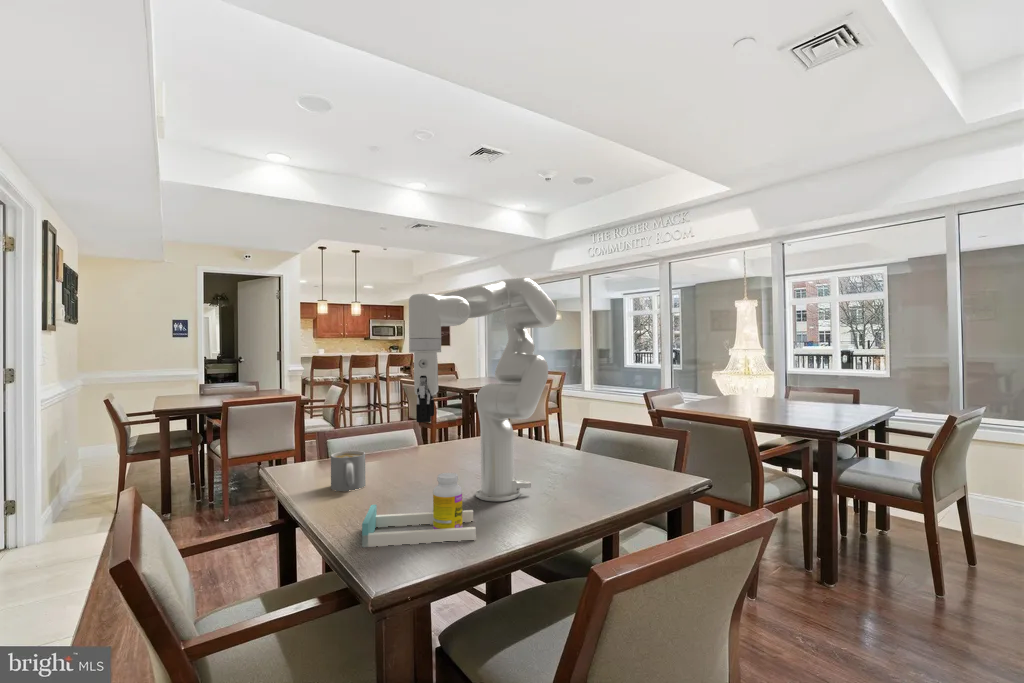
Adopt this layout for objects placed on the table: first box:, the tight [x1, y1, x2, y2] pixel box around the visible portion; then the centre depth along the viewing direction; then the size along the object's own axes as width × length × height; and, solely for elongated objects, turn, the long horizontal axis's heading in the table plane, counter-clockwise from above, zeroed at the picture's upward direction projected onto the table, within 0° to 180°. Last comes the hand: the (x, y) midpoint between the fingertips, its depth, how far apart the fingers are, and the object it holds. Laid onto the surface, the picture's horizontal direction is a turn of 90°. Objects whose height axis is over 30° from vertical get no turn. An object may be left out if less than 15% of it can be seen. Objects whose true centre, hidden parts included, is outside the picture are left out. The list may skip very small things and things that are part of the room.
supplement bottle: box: [432, 472, 463, 529], centre depth 111 cm, size 7×7×13 cm
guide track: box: [361, 504, 477, 548], centre depth 110 cm, size 24×12×5 cm, turn 98°
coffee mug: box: [330, 450, 366, 492], centre depth 145 cm, size 13×10×10 cm
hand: (425, 418), depth 114 cm, fingers open, 9 cm apart
